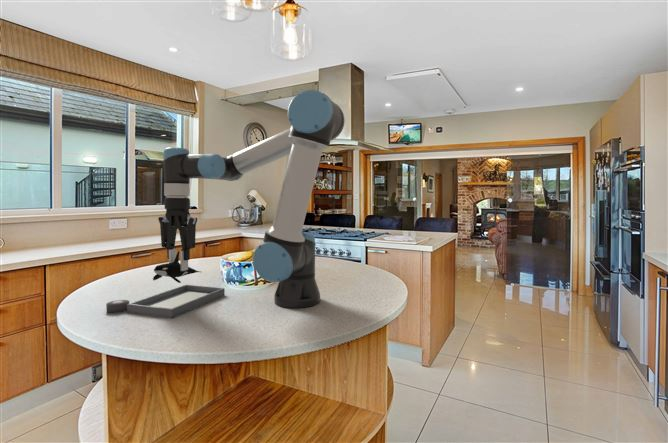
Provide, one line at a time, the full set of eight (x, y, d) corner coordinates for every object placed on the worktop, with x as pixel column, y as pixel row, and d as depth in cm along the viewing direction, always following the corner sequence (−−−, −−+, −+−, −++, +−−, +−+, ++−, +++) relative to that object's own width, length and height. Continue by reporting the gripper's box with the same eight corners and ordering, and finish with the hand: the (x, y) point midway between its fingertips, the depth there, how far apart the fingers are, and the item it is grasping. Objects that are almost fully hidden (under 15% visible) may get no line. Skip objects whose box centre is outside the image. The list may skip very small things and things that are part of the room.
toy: (166, 282, 105) (171, 248, 106) (138, 280, 107) (144, 246, 109) (209, 283, 125) (212, 254, 127) (184, 281, 128) (188, 253, 129)
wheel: (134, 308, 112) (133, 300, 112) (117, 314, 106) (116, 305, 106) (119, 306, 114) (118, 298, 114) (101, 312, 108) (101, 303, 108)
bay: (224, 295, 127) (224, 288, 127) (171, 318, 103) (171, 309, 103) (186, 291, 132) (185, 284, 132) (127, 312, 108) (126, 304, 108)
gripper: (207, 197, 116) (208, 269, 118) (164, 196, 121) (166, 265, 123) (191, 197, 109) (192, 274, 111) (146, 196, 114) (148, 270, 116)
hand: (178, 269), depth 117 cm, fingers closed on toy, 4 cm apart
